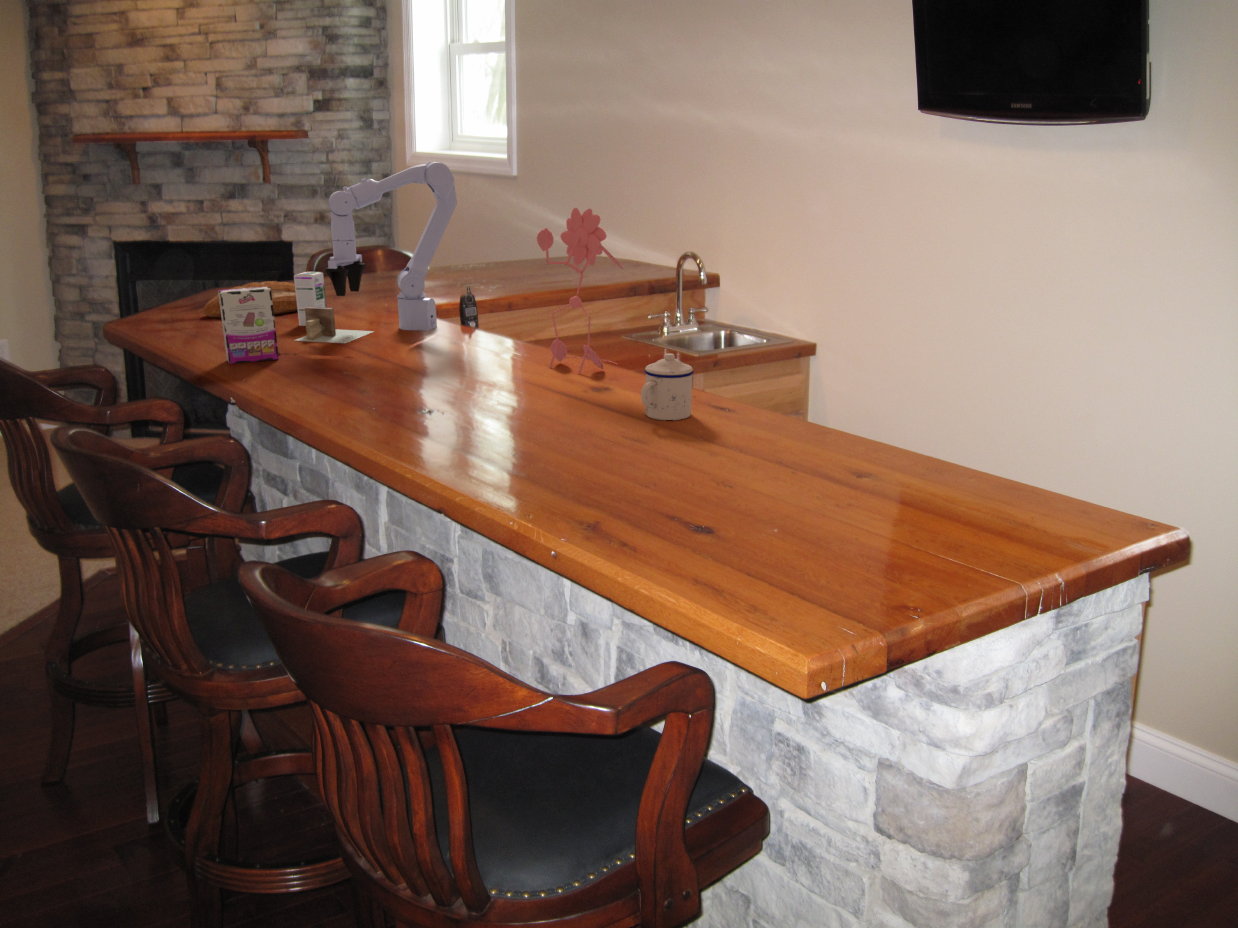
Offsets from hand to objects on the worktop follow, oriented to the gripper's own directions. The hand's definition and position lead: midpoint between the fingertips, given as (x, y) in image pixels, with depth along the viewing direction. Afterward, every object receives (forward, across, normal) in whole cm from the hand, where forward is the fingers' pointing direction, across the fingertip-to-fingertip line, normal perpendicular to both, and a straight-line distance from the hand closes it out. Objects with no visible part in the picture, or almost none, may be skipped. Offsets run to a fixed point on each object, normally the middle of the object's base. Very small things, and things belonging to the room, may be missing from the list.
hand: (347, 293), depth 262 cm
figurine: (+11, +22, +69) cm, 73 cm away
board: (+10, +8, 0) cm, 13 cm away
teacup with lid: (+11, +60, +94) cm, 112 cm away
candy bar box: (+11, +35, -7) cm, 37 cm away
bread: (+11, -25, -40) cm, 48 cm away
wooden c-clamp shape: (+10, +8, -4) cm, 13 cm away
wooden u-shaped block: (+10, +8, -4) cm, 13 cm away
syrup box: (+11, -6, -14) cm, 19 cm away
